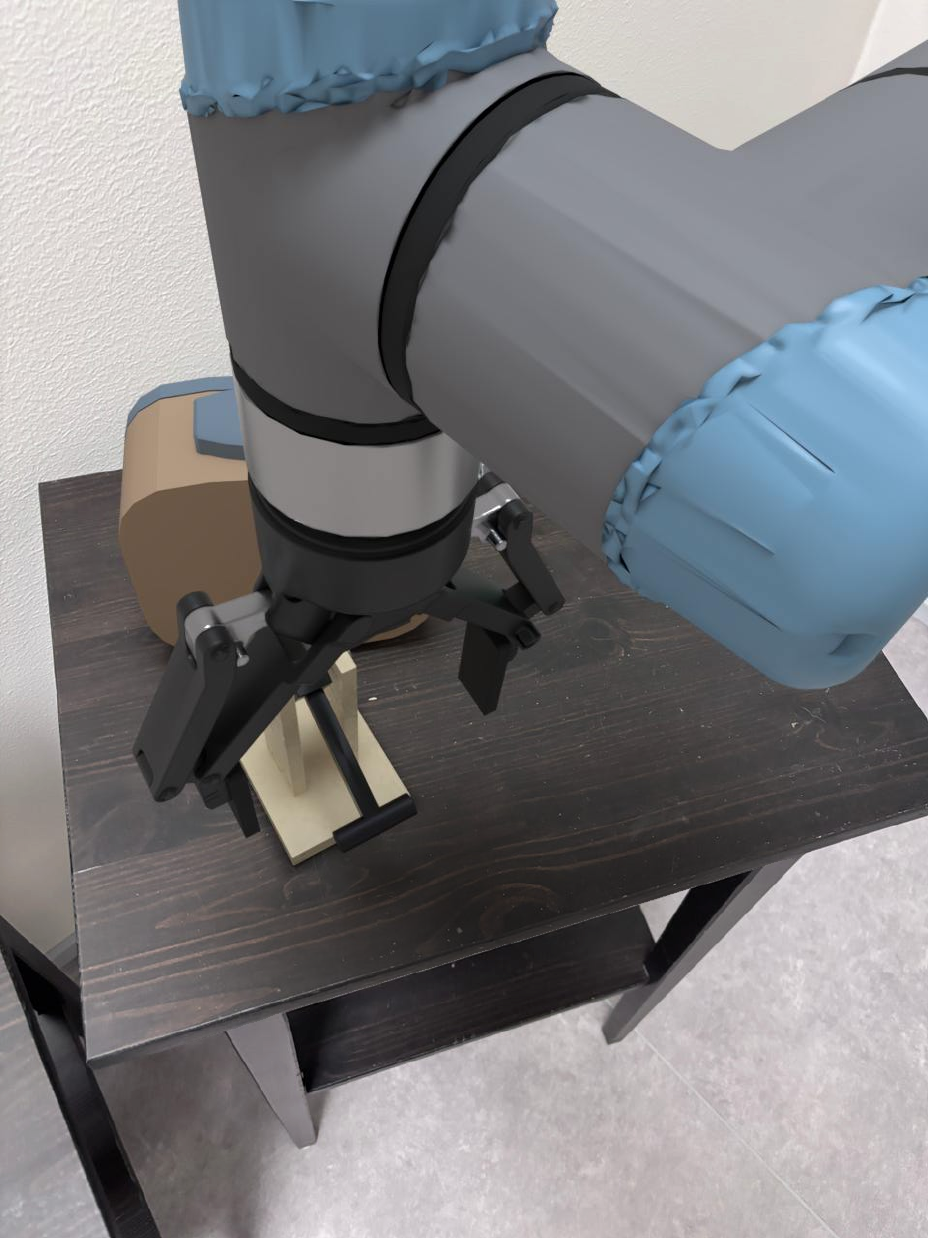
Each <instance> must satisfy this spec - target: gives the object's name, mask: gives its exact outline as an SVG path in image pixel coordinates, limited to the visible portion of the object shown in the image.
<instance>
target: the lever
mask: <svg viewBox="0 0 928 1238" xmlns="http://www.w3.org/2000/svg"><path fill="white" fill-rule="evenodd" d="M303 645H304V647H305V648H306V650H307V651H308V649H309V648H310V647H311V645H308V644H303ZM331 683H332V680H331V678H330V676H329V674H328V672H327V673H326V674H325V675H324V676H323V678H322V679H321V680H320V681H319V682H318V683H317V684H314V685H302V686H301V687H300V688H299V690H298V691H297V692H296V693H295V694H294V697H295V702H297V701H299V700H301V699H303V698H304V699H305V701H306V703H307V705H308V707H309V709H310V711H311V714H312V716H313V718H314V720H315V722H316V724H317V726H318V728H319V730H320V732H321V735H322V737H323V739H324V741H325V743H326V745H327V747H328V749H329V751H330V754H331V756H332V758H333V760H334V762H335V764H336V766H337V768H338V770H339V772H340V775H341V777H342V779H343V781H344V783H345V785H346V787H347V789H348V791H349V793H350V796H351V798H352V800H353V802H354V804H355V806H356V808H357V810H358V812H359V814H360V817H359V818H357V819H355V820H353V821H352V822H350V823H348V824H346V825H344V826H342V827H340V828H338V829H336V830H335V831H333V832H332V834H333V838H334V840H335V842H336V843H335V844H336V846H337V848H338V850H339V851H340V853H341V854H346V853H348V852H350V851H351V850H353V849H355V848H357V847H359V846H361V845H363V844H364V843H367V842H369V841H370V840H372V839H374V838H376V837H377V836H379V835H381V834H383V833H385V832H387V831H388V830H390V829H393V828H394V827H396V826H397V825H399V824H402V823H403V822H405V821H407V820H408V819H411V818H412V817H414V816H417V814H418V810H417V807H416V804H415V802H414V800H413V799H412V797H411V795H410V796H409V795H408V794H407V793H404V794H403V795H401V796H399V797H397V798H395V799H393V800H391V801H389V802H387V803H386V804H384V805H382V806H380V807H379V805H378V803H377V801H376V799H375V797H374V795H373V793H372V791H371V788H370V786H369V784H368V782H367V780H366V778H365V776H364V774H363V772H362V770H361V768H360V765H359V763H358V761H357V759H356V757H355V755H354V753H353V751H352V749H351V747H350V744H349V742H348V740H347V738H346V736H345V734H344V732H343V730H342V728H341V726H340V724H339V721H338V719H337V717H336V715H335V713H334V711H333V709H332V707H331V705H330V703H329V700H328V698H327V696H326V694H325V692H324V690H323V689H325V688H326V687H328V686H329V685H330V684H331Z"/></svg>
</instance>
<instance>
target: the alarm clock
mask: <svg viewBox="0 0 928 1238" xmlns="http://www.w3.org/2000/svg"><path fill="white" fill-rule="evenodd" d="M123 439H124V441H123V454H122V455H123V457H122V473H121V487H120V502H119V503H120V504H119V519H118V534H117V537H118V542H119V548H120V552H121V556H122V559H123V561H124V564H125V568H126V570H127V573H128V576H129V578H130V581H131V584H132V587H133V589H134V592H135V595H136V598H137V601H138V604H139V606H140V610H141V612H142V615H143V617H144V619H145V621H146V623H147V624H148V626H149V628H150V630H151V631H152V632H153V633H154V634H155V635H157V637H159V639H160V640H162V641H163V642H165V643H166V644H168V645H171V646H173V648H174V647H175V644H176V642H177V640H178V637H179V633H178V623H177V613H176V606H177V603H178V602H179V600H180V599H181V598H182V597H184V596H185V595H187V594H189V593H191V592H195V591H204V592H205V593H207V594H208V596H209V597H210V599H211V601H212V603H213V605H214V606H215V605H218V604H221V603H224V602H227V601H230V600H233V599H236V598H239V597H242V596H245V595H248V594H251V593H253V587H254V584H255V582H256V580H257V579H258V577H259V575H260V572H261V568H262V563H261V558H260V554H259V549H258V543H257V536H256V530H255V523H254V517H253V510H252V504H251V497H250V491H249V485H248V469H247V467H246V460H245V454H244V447H243V441H242V434H241V428H240V421H239V415H238V408H237V401H236V395H235V388H234V382H233V375H226V376H225V375H223V376H222V375H221V376H206V377H205V376H204V377H200V378H195V379H194V378H193V379H188V380H182V381H176V382H169V383H163V384H160V385H158V386H157V387H155V388H153V389H152V390H150V391H148V392H146V393H145V394H143V395H142V396H139V398H138V399H137V401H136V403H135V404H134V405H133V406H132V408H131V409H130V411H129V412H128V414H127V419H126V424H125V431H124V438H123ZM429 616H430V615H427V614H424V613H423V614H422V615H417V614H415V615H414V616H413V617H411V621H410V623H408V624H406V625H403V626H401V627H399V628H397V629H395V630H391V631H388V632H384V633H381V634H378V635H376V636H374V637H372V638H371V639H369V640H368V641H366V642H364V643H363V644H366V643H367V644H368V643H373V642H378V641H383V640H390V639H394V638H396V637H399V636H401V635H403V634H407V633H408V632H410V631H413V630H415V629H416V628H417V627H418V626H420V625H421V624H422V623H423V622H425V621H426V620H427V619H428V617H429ZM254 635H255V634H254ZM254 635H253V636H252V638H251V639H250V641H251V640H252V639H253V637H254ZM249 643H250V642H249ZM303 644H305V643H303Z"/></svg>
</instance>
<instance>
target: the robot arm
mask: <svg viewBox="0 0 928 1238" xmlns="http://www.w3.org/2000/svg"><path fill="white" fill-rule="evenodd" d="M176 1H177V9H178V18H179V29H180V37H181V47H182V55H183V63H184V76H183V78H182V79H181V81H180V87H179V88H178V92H179V96H180V102H181V106H182V108H183V110H184V111H185V112H186V115H187V120H188V122H187V123H188V128H189V133H190V140H191V144H192V151H193V155H194V162H195V168H196V173H197V179H198V184H199V185H198V186H199V190H200V196H201V202H202V207H203V213H204V219H205V226H206V231H207V236H208V241H209V247H210V255H211V260H212V266H213V272H214V276H215V282H216V287H217V294H218V299H219V300H218V301H219V305H220V312H221V316H222V317H221V318H222V323H223V328H224V333H225V338H226V341H227V342H228V349H229V353H228V356H229V362H230V368H231V376H233V382H234V388H235V395H236V401H237V408H238V415H239V421H240V428H241V434H242V441H243V447H244V454H245V460H246V467H247V469H248V485H249V491H250V497H251V504H252V510H253V517H254V523H255V530H256V536H257V543H258V549H259V554H260V558H261V563H262V568H261V572H260V575H259V577H258V579H257V580H256V582H255V584H254V587H253V593H251V594H248V595H245V596H242V597H239V598H236V599H233V600H230V601H227V602H224V603H221V604H218V605H215V606H214V605H213V603H212V601H211V599H210V597H209V596H208V594H207V593H205V592H204V591H195V592H191V593H189V594H187V595H185V596H184V597H182V598H181V599H180V600H179V602H178V603H177V606H176V613H177V623H178V633H179V637H178V640H177V642H176V644H175V647H174V646H173V650H172V651H171V654H170V656H169V659H168V662H167V664H166V667H165V669H164V670H163V674H162V676H161V679H160V680H159V683H158V685H157V688H156V690H155V693H154V695H153V697H152V700H151V702H150V704H149V707H148V709H147V712H146V714H145V717H144V719H143V722H142V724H141V726H140V728H139V731H138V733H137V737H136V738H135V741H134V743H133V746H132V749H131V754H132V755H133V758H134V760H135V761H136V763H137V766H138V769H139V770H140V772H141V774H142V778H143V779H144V781H145V784H146V785H147V787H148V790H149V792H150V794H151V797H152V798H153V800H154V801H155V802H156V803H165V802H167V801H168V802H169V801H171V800H172V799H174V798H176V797H177V796H178V795H180V794H181V793H182V791H184V789H185V786H186V785H187V784H194V785H195V788H196V790H197V792H198V794H199V796H200V799H201V800H202V802H203V804H204V806H205V808H206V809H209V810H211V811H213V810H214V809H217V808H219V807H221V806H223V805H225V804H227V803H228V806H229V808H230V810H231V812H232V814H233V815H234V817H235V820H236V822H237V823H238V825H239V828H240V829H241V831H242V833H243V835H244V837H245V839H249V838H250V837H253V836H254V835H257V834H258V833H260V832H261V828H260V824H259V820H258V816H257V812H256V807H255V803H254V801H253V797H252V792H251V789H250V785H249V784H250V783H249V779H248V778H247V776H246V774H245V772H244V770H243V768H242V766H241V764H240V762H239V760H240V759H241V758H242V757H243V756H244V754H245V753H246V752H247V751H248V750H249V748H250V747H251V746H252V745H253V744H254V742H255V741H256V740H257V739H258V738H259V736H260V735H261V734H262V733H263V732H264V730H265V729H266V728H267V727H268V726H269V724H270V723H271V722H272V721H273V720H274V718H275V717H276V716H277V715H278V714H279V712H280V711H281V710H282V709H283V708H284V706H285V705H286V704H287V703H288V702H289V700H290V699H291V698H292V697H293V696H294V694H295V693H296V692H297V691H298V690H299V688H300V687H301V686H302V685H314V684H317V683H318V682H319V681H320V680H321V679H322V678H323V676H324V675H325V674H326V673H327V672H328V670H329V669H330V668H331V667H332V666H333V665H334V663H335V662H336V661H337V660H338V659H339V657H340V656H341V655H342V654H343V653H344V652H346V651H348V650H350V651H351V650H353V649H355V648H357V647H359V646H361V645H363V644H365V643H364V642H366V641H368V640H369V639H371V638H372V637H374V636H376V635H378V634H381V633H384V632H388V631H391V630H395V629H397V628H399V627H401V626H403V625H406V624H408V623H410V621H411V617H413V616H414V615H415V614H417V615H422V614H423V613H424V614H427V615H429V616H430V617H433V618H436V619H439V620H442V621H444V622H447V623H450V622H452V621H453V620H454V619H458V620H461V621H464V622H466V626H465V632H464V639H463V642H462V643H463V644H462V650H461V655H460V656H461V657H460V663H459V669H458V676H457V678H458V680H459V681H460V683H461V685H462V686H463V687H464V689H465V690H466V692H467V694H469V696H470V698H471V699H472V701H473V702H474V703H475V705H476V706H477V708H478V709H479V710H480V712H481V713H482V715H483V716H484V717H485V716H488V715H489V714H491V713H493V712H495V711H497V708H498V705H499V701H500V696H501V692H502V688H503V684H504V679H505V677H506V673H507V672H506V671H507V667H508V663H510V662H513V660H514V659H515V657H516V656H517V654H518V651H519V648H520V650H521V651H526V650H528V649H531V648H532V647H534V646H535V645H536V644H537V643H538V642H539V641H540V639H542V633H541V632H540V631H539V629H538V628H537V627H536V626H535V624H534V623H533V622H532V620H531V619H532V618H534V617H535V616H536V615H537V614H539V613H540V612H542V613H543V615H544V616H547V617H548V616H552V615H554V614H555V613H557V612H558V611H560V610H561V609H562V608H563V607H564V606H565V603H566V599H565V597H564V595H563V594H562V592H561V589H560V588H559V587H558V584H556V582H555V580H554V578H553V576H552V575H551V573H550V571H549V569H548V567H547V566H546V564H545V563H544V561H543V559H542V558H541V556H540V554H539V552H538V551H537V549H536V547H535V546H534V544H533V542H532V536H533V526H534V513H533V512H532V510H531V509H530V508H529V507H528V505H527V504H526V503H525V502H524V501H523V500H522V499H521V497H520V496H519V495H521V496H522V497H523V498H524V499H525V500H527V501H528V502H529V503H530V504H531V505H532V506H534V507H536V509H538V510H539V511H540V512H542V513H543V514H544V515H545V516H546V517H548V518H549V519H550V520H551V521H553V522H554V523H556V525H558V526H559V527H560V528H561V529H563V530H564V531H565V532H566V533H568V534H569V535H570V536H571V537H573V538H574V539H575V540H576V541H577V542H579V543H580V544H581V545H582V546H584V547H585V548H586V549H587V550H588V551H590V552H591V553H592V554H594V555H595V556H596V557H597V558H598V559H600V560H601V561H602V562H603V563H605V564H606V566H607V567H608V569H610V571H611V572H613V573H614V576H615V577H616V580H617V581H618V582H619V583H622V584H624V585H626V586H628V587H629V588H630V590H631V592H635V593H637V594H638V595H639V596H641V597H642V598H644V599H645V600H647V601H651V602H658V603H662V604H664V605H665V606H666V607H668V608H670V609H671V610H672V611H674V612H675V613H676V614H678V615H679V616H680V617H682V618H683V619H684V620H686V621H688V622H689V623H691V624H692V625H693V626H695V627H696V628H698V629H699V630H700V631H702V632H703V633H705V634H706V635H708V636H709V637H710V638H711V639H713V640H715V641H716V642H717V643H719V644H720V645H721V646H723V647H724V648H726V649H727V650H729V651H730V652H732V653H733V654H735V656H737V657H738V658H740V659H742V660H743V661H744V662H746V663H747V664H749V665H750V666H752V667H753V668H754V669H756V670H757V671H758V672H760V673H761V674H762V675H764V676H765V677H767V678H769V679H770V680H772V681H773V682H776V683H778V684H780V685H783V686H786V687H789V688H793V689H796V690H822V689H827V688H830V687H835V686H837V685H842V684H844V683H847V682H849V681H850V680H852V679H854V678H855V677H857V676H858V675H860V674H861V673H862V672H863V671H864V670H865V669H867V667H868V666H869V665H870V664H872V662H873V661H874V660H875V658H876V657H877V656H878V655H879V654H880V653H881V652H882V651H883V649H884V648H885V647H886V646H887V645H888V643H890V641H891V640H892V639H893V638H894V637H895V636H896V635H897V634H898V633H899V631H900V630H901V629H902V628H903V627H904V625H905V624H906V623H907V622H908V621H909V620H910V618H911V617H912V616H914V614H915V613H916V612H917V610H918V609H919V608H920V607H921V606H922V605H923V603H925V601H926V600H927V599H928V39H925V40H924V41H922V42H920V43H919V44H917V45H916V46H914V47H912V48H910V49H909V50H907V51H905V52H904V53H902V54H900V55H899V56H897V57H895V58H893V59H892V60H890V61H888V62H887V63H885V64H883V65H881V66H880V67H878V68H876V69H874V70H873V71H871V72H870V73H868V74H866V75H864V76H862V77H861V78H860V79H857V80H856V81H854V82H852V83H851V84H849V85H847V86H846V87H843V88H842V89H839V90H838V91H836V92H834V93H832V94H831V95H829V96H827V97H826V98H824V99H823V100H821V101H818V102H817V103H815V104H813V105H811V106H810V107H808V108H806V109H804V110H802V111H800V112H798V113H797V114H795V115H793V116H791V117H790V118H789V117H788V119H786V120H784V121H782V122H781V123H778V124H777V125H775V126H773V127H771V128H769V129H768V130H765V131H763V132H762V133H760V134H758V135H757V136H755V137H752V138H751V139H749V140H747V141H746V142H744V143H741V144H740V145H739V146H737V147H735V148H733V149H732V150H731V149H729V150H728V149H723V148H718V147H716V146H714V145H712V144H710V143H708V142H707V141H704V140H703V139H701V138H700V137H697V136H696V135H693V134H692V133H690V132H688V131H686V130H685V129H683V128H681V127H680V126H677V125H676V124H674V123H672V122H670V121H669V120H666V119H664V118H662V117H661V116H659V115H657V114H655V113H653V112H652V111H649V110H648V109H646V108H644V107H642V106H640V105H639V104H637V103H635V102H634V101H631V100H630V99H628V98H625V97H622V96H620V95H619V94H617V93H616V92H614V91H612V90H610V89H608V88H606V87H604V86H602V84H601V83H599V82H598V81H597V80H595V79H594V78H593V77H592V76H590V75H589V74H586V72H583V71H581V70H579V69H578V68H576V67H574V66H572V65H571V64H568V63H567V62H564V61H562V60H560V59H558V58H557V57H556V56H555V55H554V54H553V53H551V52H550V51H549V50H548V46H547V41H548V39H550V36H551V32H552V31H553V26H555V23H554V19H555V17H556V15H557V14H558V11H559V9H560V8H559V6H558V3H557V1H556V0H176ZM482 464H484V465H485V466H486V467H487V468H489V469H490V470H491V472H488V473H486V474H485V475H483V476H482V477H481V478H480V479H479V480H478V476H479V472H480V469H481V465H482ZM517 493H518V494H519V495H518V494H517ZM471 539H477V540H478V541H479V542H480V544H481V545H489V544H490V545H491V546H492V548H494V550H495V551H496V552H498V553H499V555H500V556H501V558H502V559H503V561H504V562H505V564H506V566H507V567H508V568H509V570H510V571H511V572H512V574H513V576H514V577H515V578H516V580H517V582H516V583H514V584H513V585H511V586H510V587H508V588H506V586H505V585H504V584H501V582H497V581H495V580H493V579H490V577H486V576H484V575H482V574H480V573H478V572H475V571H473V570H471V569H469V568H467V567H465V566H462V565H463V563H464V561H465V558H466V556H467V554H468V551H469V547H470V545H471V544H470V542H471ZM254 634H255V635H254ZM253 635H254V637H253V639H252V640H251V641H250V639H251V638H252V636H253ZM249 642H250V643H249ZM303 643H305V644H308V645H311V647H310V648H309V649H308V651H307V650H306V648H305V647H304V645H303Z"/></svg>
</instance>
